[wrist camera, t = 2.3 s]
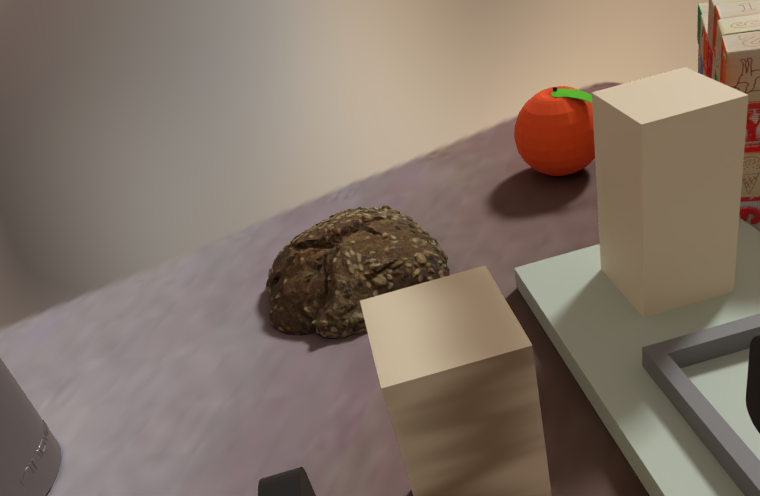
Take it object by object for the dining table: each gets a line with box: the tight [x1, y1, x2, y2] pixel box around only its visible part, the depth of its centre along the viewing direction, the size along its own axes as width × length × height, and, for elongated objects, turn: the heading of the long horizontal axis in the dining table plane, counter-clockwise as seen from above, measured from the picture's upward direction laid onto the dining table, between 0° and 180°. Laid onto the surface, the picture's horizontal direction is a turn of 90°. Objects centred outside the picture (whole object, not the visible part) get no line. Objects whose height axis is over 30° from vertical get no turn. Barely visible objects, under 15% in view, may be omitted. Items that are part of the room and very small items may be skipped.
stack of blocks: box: [697, 0, 760, 232], centre depth 45 cm, size 21×6×12 cm, turn 161°
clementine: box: [514, 86, 595, 176], centre depth 51 cm, size 8×7×7 cm
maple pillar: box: [360, 266, 552, 496], centre depth 26 cm, size 5×5×11 cm
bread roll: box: [266, 205, 449, 339], centre depth 45 cm, size 13×12×5 cm
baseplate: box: [514, 67, 760, 496], centre depth 30 cm, size 14×20×12 cm
